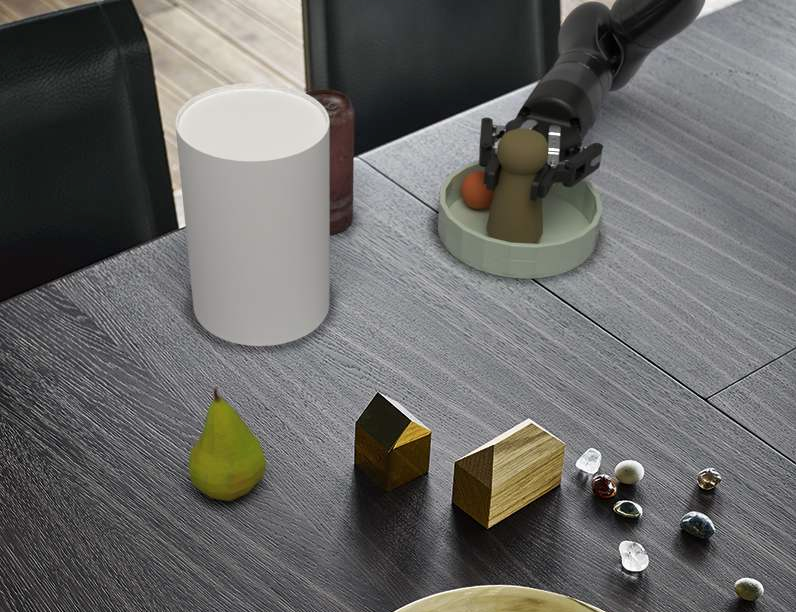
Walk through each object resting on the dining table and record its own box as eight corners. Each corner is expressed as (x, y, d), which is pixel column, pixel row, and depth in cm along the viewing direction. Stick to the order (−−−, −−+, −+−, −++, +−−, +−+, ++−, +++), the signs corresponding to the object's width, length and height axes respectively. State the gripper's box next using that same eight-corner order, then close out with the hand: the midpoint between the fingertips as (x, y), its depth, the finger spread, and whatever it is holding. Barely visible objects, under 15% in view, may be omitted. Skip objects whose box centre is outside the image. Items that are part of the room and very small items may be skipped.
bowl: (590, 192, 142) (595, 160, 139) (602, 283, 130) (608, 250, 127) (438, 184, 142) (440, 152, 139) (436, 274, 130) (439, 241, 127)
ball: (498, 197, 139) (499, 164, 136) (496, 216, 136) (496, 183, 134) (462, 196, 140) (462, 163, 137) (459, 215, 137) (459, 182, 134)
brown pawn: (477, 219, 134) (484, 125, 126) (528, 209, 136) (538, 116, 128) (500, 250, 130) (509, 155, 122) (552, 239, 132) (565, 145, 124)
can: (290, 207, 137) (287, 88, 127) (347, 203, 138) (349, 85, 128) (297, 239, 133) (294, 118, 123) (356, 234, 134) (358, 115, 124)
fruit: (258, 458, 110) (252, 351, 101) (272, 508, 106) (267, 401, 97) (185, 469, 109) (173, 362, 100) (196, 520, 104) (184, 413, 96)
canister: (179, 338, 121) (158, 153, 106) (209, 257, 130) (194, 76, 116) (318, 352, 120) (316, 168, 106) (338, 270, 130) (339, 90, 115)
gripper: (502, 64, 137) (448, 139, 126) (629, 92, 133) (585, 171, 122) (496, 127, 142) (443, 203, 131) (618, 155, 139) (574, 236, 128)
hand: (512, 187), depth 127 cm, fingers closed on brown pawn, 4 cm apart
